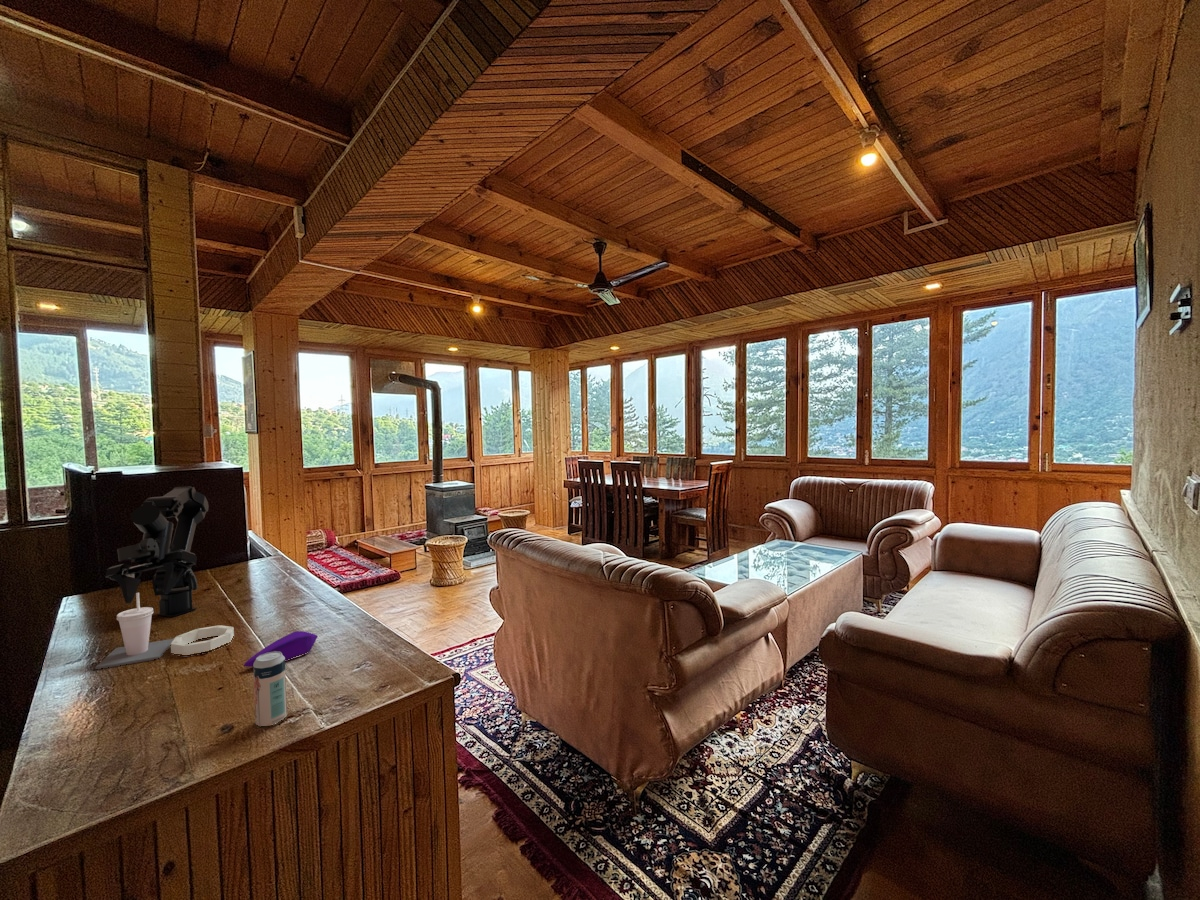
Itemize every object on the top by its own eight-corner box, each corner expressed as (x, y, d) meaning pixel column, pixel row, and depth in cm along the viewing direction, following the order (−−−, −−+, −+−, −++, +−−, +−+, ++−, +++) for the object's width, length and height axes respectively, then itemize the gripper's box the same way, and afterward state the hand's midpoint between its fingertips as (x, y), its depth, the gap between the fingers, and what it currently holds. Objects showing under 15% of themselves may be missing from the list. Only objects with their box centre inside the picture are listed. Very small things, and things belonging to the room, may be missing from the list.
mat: (116, 650, 119) (116, 647, 119) (174, 640, 124) (174, 638, 124) (95, 669, 109) (95, 667, 109) (159, 658, 114) (159, 656, 114)
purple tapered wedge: (239, 652, 109) (312, 624, 120) (242, 672, 110) (314, 642, 121) (245, 658, 106) (320, 629, 117) (249, 679, 107) (323, 648, 118)
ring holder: (211, 633, 129) (210, 623, 129) (243, 638, 125) (243, 628, 125) (161, 652, 118) (160, 642, 118) (195, 658, 114) (195, 647, 114)
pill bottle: (265, 714, 91) (263, 650, 91) (292, 712, 92) (290, 649, 91) (249, 730, 87) (246, 663, 86) (278, 728, 87) (275, 661, 86)
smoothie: (155, 651, 117) (152, 593, 116) (117, 660, 112) (114, 600, 112) (155, 643, 121) (152, 587, 121) (119, 651, 117) (115, 593, 116)
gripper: (91, 540, 123) (76, 602, 116) (168, 521, 125) (158, 581, 118) (130, 552, 133) (119, 610, 126) (201, 534, 135) (194, 591, 128)
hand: (147, 598), depth 124 cm, fingers open, 9 cm apart
